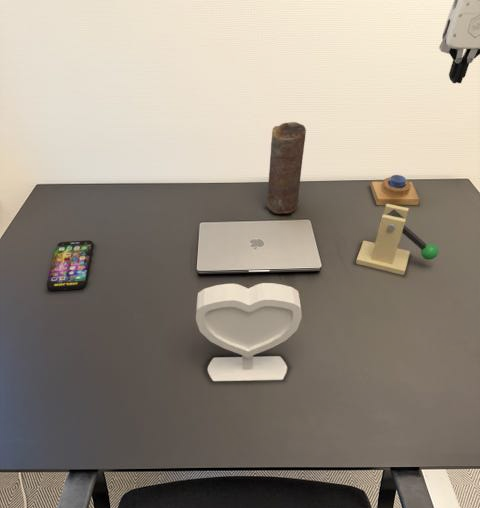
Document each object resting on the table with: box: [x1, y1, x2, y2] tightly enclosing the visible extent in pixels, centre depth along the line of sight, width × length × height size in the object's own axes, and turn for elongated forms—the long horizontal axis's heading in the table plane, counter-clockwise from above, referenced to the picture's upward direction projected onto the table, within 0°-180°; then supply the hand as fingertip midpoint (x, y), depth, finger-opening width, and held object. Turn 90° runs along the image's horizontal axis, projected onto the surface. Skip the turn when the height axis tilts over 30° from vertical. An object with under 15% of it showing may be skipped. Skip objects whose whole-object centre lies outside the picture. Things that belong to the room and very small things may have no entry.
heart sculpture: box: [195, 282, 303, 382], centre depth 73 cm, size 16×5×18 cm, turn 91°
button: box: [389, 174, 407, 188], centre depth 114 cm, size 4×4×2 cm
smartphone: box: [46, 240, 94, 292], centre depth 98 cm, size 8×1×15 cm
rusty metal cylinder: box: [266, 121, 307, 215], centre depth 106 cm, size 8×7×20 cm
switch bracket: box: [355, 204, 411, 276], centre depth 96 cm, size 10×7×12 cm
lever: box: [387, 209, 439, 261], centre depth 94 cm, size 13×3×3 cm
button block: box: [370, 176, 420, 206], centre depth 116 cm, size 10×8×4 cm
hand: (455, 80), depth 103 cm, fingers closed
